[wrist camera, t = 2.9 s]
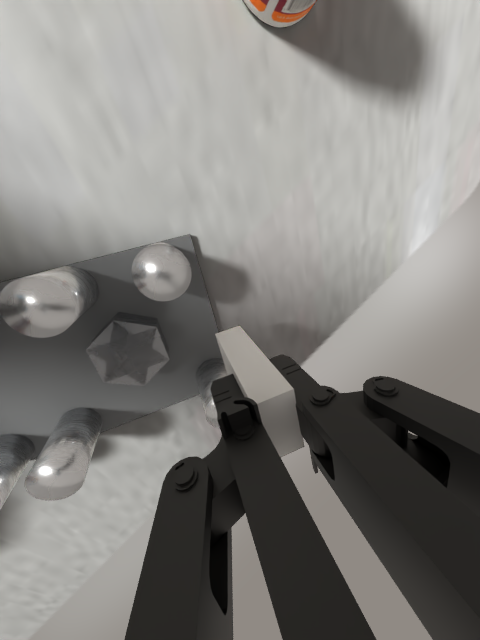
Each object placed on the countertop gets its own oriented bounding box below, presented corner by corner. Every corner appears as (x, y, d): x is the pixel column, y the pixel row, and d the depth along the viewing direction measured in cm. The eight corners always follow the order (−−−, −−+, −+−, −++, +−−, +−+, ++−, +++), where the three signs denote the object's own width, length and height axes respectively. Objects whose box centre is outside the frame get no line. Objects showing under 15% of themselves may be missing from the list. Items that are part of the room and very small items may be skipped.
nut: (116, 382, 19) (111, 397, 17) (84, 321, 17) (75, 331, 15) (174, 362, 20) (175, 374, 18) (150, 302, 18) (149, 309, 16)
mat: (-56, 488, 18) (-62, 496, 18) (-219, 337, 13) (-235, 342, 13) (231, 377, 23) (233, 380, 22) (189, 234, 18) (189, 234, 17)
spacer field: (-1, 472, 18) (-54, 549, 14) (-141, 318, 13) (-295, 358, 9) (233, 380, 22) (251, 417, 18) (189, 234, 17) (200, 232, 13)
